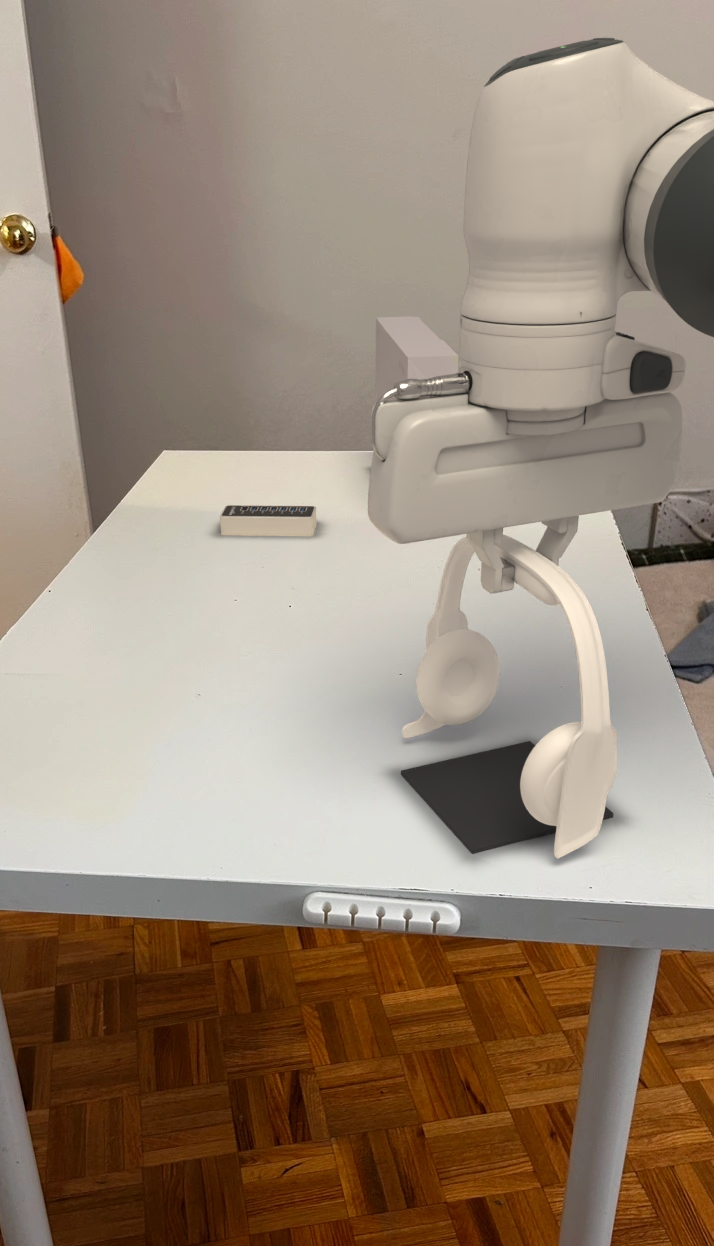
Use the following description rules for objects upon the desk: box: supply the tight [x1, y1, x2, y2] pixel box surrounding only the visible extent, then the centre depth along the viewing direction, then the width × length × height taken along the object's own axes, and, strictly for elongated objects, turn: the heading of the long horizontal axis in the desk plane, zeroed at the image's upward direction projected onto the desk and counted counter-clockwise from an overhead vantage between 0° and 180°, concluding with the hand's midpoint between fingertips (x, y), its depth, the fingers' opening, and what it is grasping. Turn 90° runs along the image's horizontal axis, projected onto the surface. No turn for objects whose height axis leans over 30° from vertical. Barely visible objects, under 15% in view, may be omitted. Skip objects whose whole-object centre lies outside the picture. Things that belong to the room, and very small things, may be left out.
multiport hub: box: [219, 504, 318, 537], centre depth 131 cm, size 4×11×2 cm, turn 84°
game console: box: [375, 315, 459, 403], centre depth 136 cm, size 6×27×20 cm, turn 4°
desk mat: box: [400, 740, 614, 855], centre depth 79 cm, size 11×11×1 cm
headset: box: [401, 534, 619, 860], centre depth 74 cm, size 20×7×18 cm, turn 21°
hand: (518, 585), depth 72 cm, fingers closed on headset
